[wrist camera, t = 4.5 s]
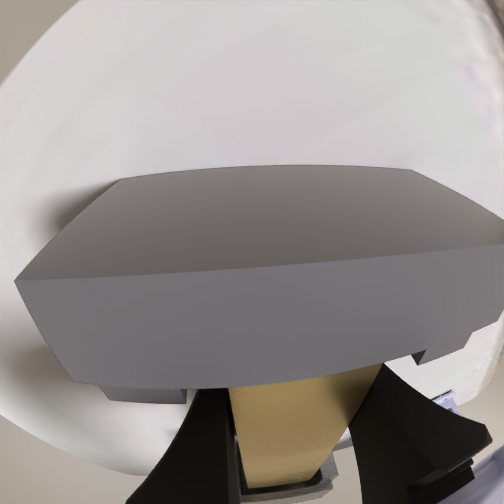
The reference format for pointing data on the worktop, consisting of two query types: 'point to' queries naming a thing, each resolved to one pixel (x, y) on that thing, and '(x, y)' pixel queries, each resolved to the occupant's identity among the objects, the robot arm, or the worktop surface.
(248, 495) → the sleeve
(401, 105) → the worktop surface
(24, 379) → the worktop surface
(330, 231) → the socket
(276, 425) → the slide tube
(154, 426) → the worktop surface
